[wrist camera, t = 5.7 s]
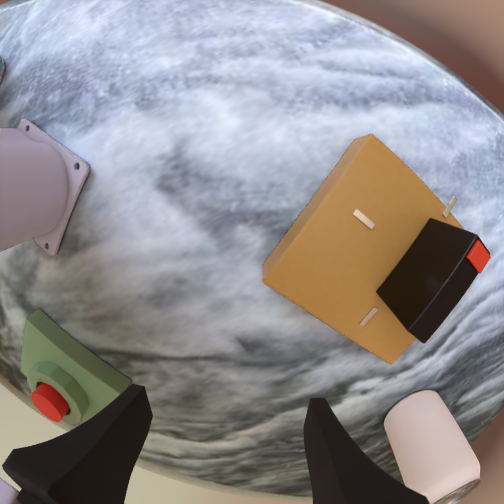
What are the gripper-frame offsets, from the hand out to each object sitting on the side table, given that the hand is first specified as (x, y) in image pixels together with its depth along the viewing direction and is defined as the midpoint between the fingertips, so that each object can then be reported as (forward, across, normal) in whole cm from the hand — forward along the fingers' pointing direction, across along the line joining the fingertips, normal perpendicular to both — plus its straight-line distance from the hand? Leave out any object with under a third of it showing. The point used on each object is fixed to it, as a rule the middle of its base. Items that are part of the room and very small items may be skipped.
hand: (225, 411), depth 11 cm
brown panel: (+9, -9, -5) cm, 13 cm away
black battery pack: (+6, -10, -5) cm, 13 cm away
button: (+5, +17, +9) cm, 20 cm away
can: (+9, -17, +11) cm, 22 cm away
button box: (+9, +17, +8) cm, 21 cm away
